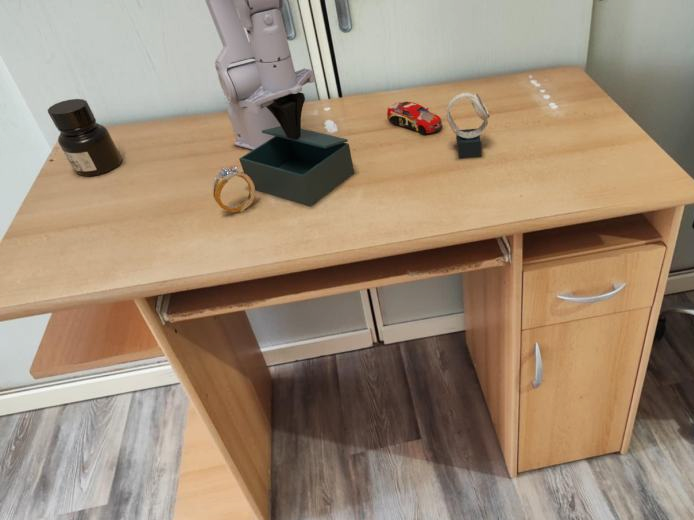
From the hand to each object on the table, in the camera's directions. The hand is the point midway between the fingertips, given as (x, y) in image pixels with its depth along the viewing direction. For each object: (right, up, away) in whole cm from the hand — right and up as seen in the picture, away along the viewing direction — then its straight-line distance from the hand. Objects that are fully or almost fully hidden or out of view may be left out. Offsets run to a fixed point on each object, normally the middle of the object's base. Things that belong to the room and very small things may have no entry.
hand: (294, 137), depth 102 cm
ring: (-9, -13, -1) cm, 16 cm away
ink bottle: (-43, -1, +13) cm, 45 cm away
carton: (0, -6, +5) cm, 8 cm away
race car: (+20, +9, +20) cm, 30 cm away
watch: (+31, +1, +11) cm, 33 cm away
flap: (+1, +1, +2) cm, 3 cm away
